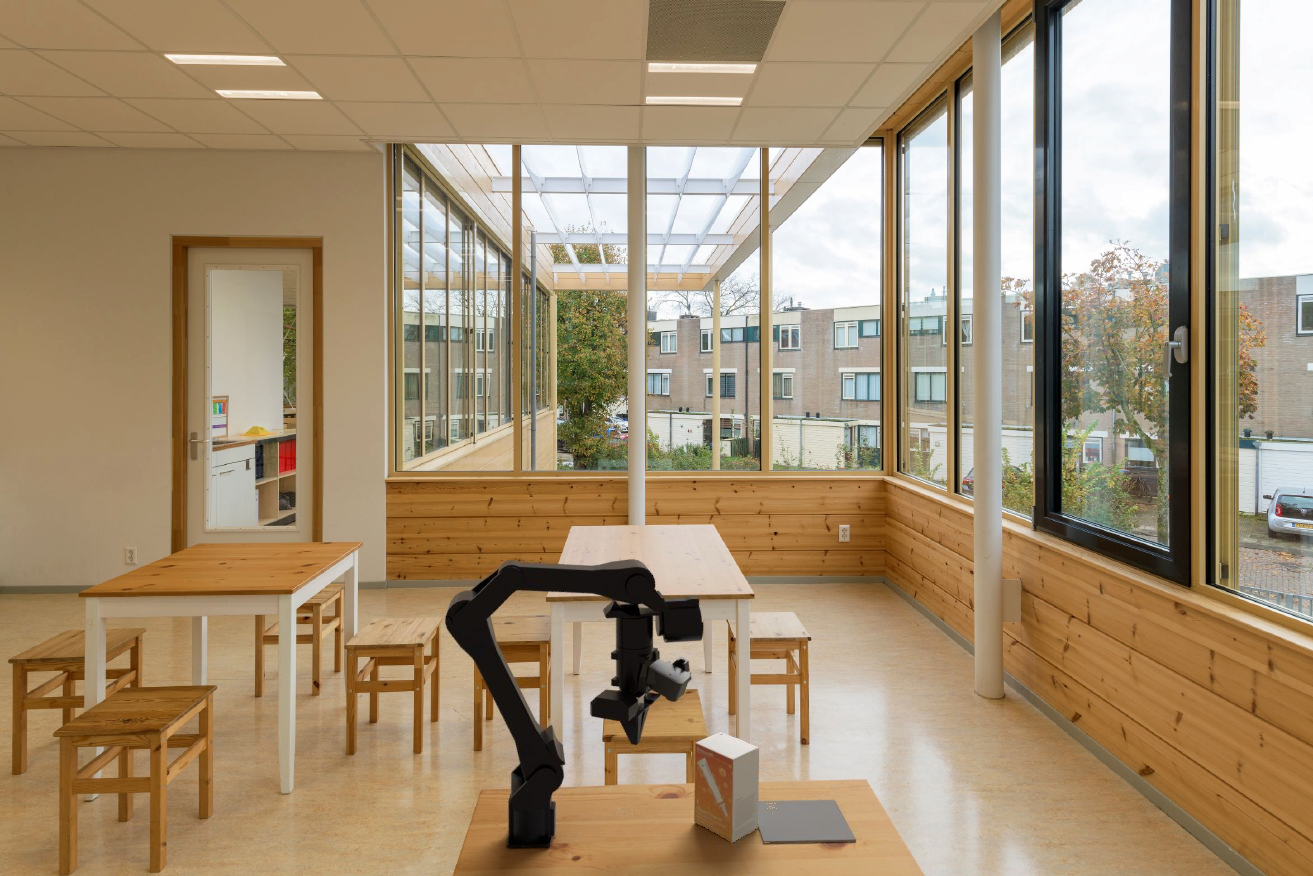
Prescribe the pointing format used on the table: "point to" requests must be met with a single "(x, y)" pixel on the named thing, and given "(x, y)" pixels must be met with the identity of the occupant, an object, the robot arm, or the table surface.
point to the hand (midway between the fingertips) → (635, 743)
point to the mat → (803, 822)
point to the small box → (726, 786)
